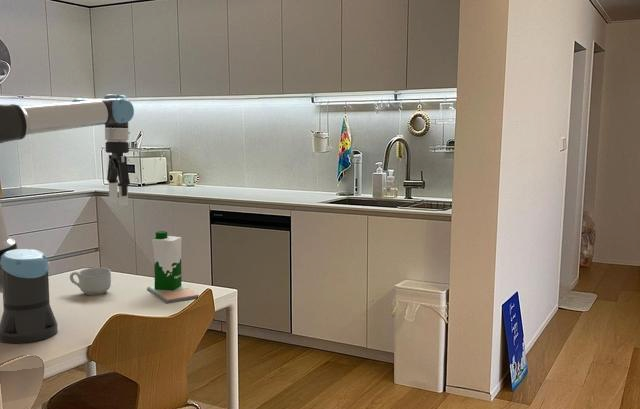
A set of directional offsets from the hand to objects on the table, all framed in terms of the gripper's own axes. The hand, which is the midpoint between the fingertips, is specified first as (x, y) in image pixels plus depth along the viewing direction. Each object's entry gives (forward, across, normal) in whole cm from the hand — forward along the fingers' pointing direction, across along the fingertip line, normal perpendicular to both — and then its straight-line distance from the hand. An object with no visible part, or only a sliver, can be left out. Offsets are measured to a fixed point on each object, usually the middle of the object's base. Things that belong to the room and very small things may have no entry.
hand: (118, 203), depth 207 cm
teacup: (+32, +8, +8) cm, 34 cm away
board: (+32, -8, -16) cm, 37 cm away
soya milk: (+31, -3, -16) cm, 35 cm away
